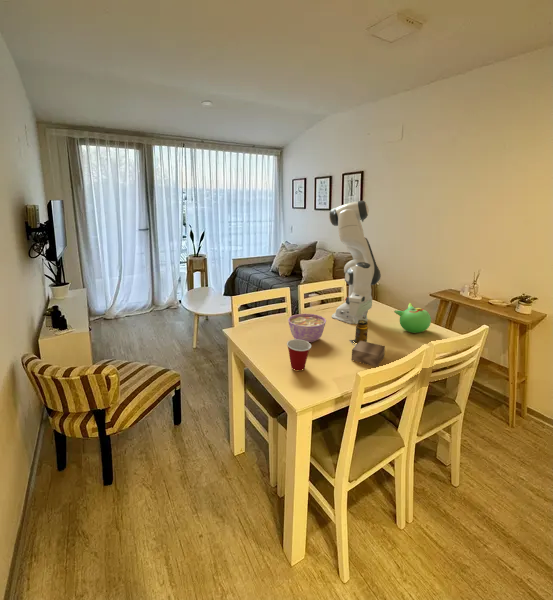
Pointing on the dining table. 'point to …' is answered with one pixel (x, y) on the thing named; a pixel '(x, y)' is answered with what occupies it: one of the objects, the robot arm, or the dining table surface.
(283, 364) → the dining table surface
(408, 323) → the toy bird
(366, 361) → the walnut block
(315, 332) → the bowl of food
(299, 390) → the dining table surface
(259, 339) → the dining table surface
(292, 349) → the plastic cup
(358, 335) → the condiment
